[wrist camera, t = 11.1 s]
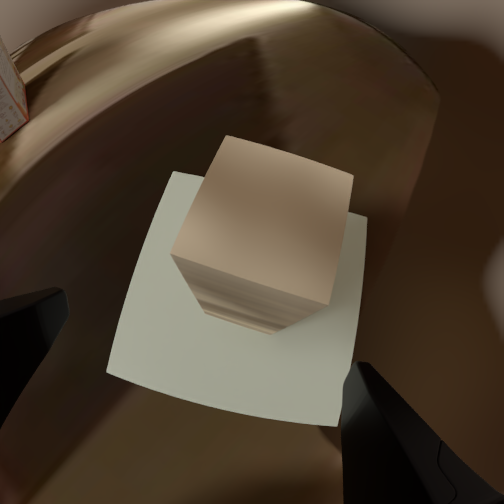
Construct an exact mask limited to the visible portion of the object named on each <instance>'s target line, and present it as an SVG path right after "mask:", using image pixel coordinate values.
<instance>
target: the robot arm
mask: <svg viewBox="0 0 504 504" xmlns="http://www.w3.org/2000/svg"><path fill="white" fill-rule="evenodd" d="M68 317H69V307H68V301H67V295H66V292H65V291H64V290H63V289H60V288H57V287H52V288H48V289H44V290H39V291H35V292H31V293H27V294H23V295H19V296H15V297H11V298H7V299H3V300H0V429H1V427H2V425H3V423H4V421H5V420H6V418H7V416H8V414H9V413H10V411H11V409H12V407H13V406H14V404H15V402H16V401H17V399H18V397H19V396H20V394H21V393H22V391H23V389H24V388H25V386H26V385H27V383H28V382H29V380H30V378H31V377H32V375H33V374H34V372H35V371H36V369H37V368H38V366H39V365H40V363H41V362H42V361H43V359H44V358H45V356H46V355H47V353H48V352H49V350H50V348H51V347H52V345H53V343H54V341H55V340H56V338H57V336H58V334H59V333H60V331H61V329H62V328H63V326H64V324H65V323H66V321H67V319H68ZM341 445H342V464H343V501H344V504H504V495H503V494H501V493H499V492H498V491H496V490H495V489H494V488H493V487H491V486H490V485H489V484H488V483H487V482H486V481H485V480H484V479H482V478H481V477H480V476H479V475H478V474H476V473H475V472H474V471H473V470H472V469H471V468H470V467H469V466H468V465H467V464H465V463H464V462H463V461H462V460H461V459H460V458H459V457H458V456H457V455H456V454H455V453H454V452H453V451H452V450H451V449H450V448H449V447H448V446H447V445H446V443H445V442H444V441H443V440H441V439H440V437H439V436H438V435H437V434H436V433H435V432H434V431H433V430H432V429H431V428H430V427H429V425H427V423H426V422H425V421H424V420H423V419H422V418H421V417H420V416H419V415H418V414H417V413H416V412H415V411H414V410H413V409H412V407H411V406H409V404H408V403H407V402H406V401H405V400H404V399H403V398H402V397H401V396H400V395H399V394H398V393H397V392H396V391H395V390H394V388H393V387H392V386H391V385H390V384H389V383H388V382H387V381H386V380H385V379H384V378H383V377H382V376H381V375H380V374H379V373H378V372H377V371H376V369H374V368H373V366H372V365H371V364H370V363H368V362H362V361H356V362H354V363H353V365H352V367H351V369H350V371H349V373H348V375H347V377H346V378H345V380H344V383H343V392H342V418H341Z"/></svg>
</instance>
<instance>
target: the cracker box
mask: <svg viewBox="0 0 504 504" xmlns="http://www.w3.org/2000/svg"><path fill="white" fill-rule="evenodd" d="M28 121H29V115H28V108H27V100H26V90H25V84H24V82H23V80H22V78H21V77H20V75H19V73H18V71H17V69H16V67H15V65H14V63H13V61H12V59H11V57H10V55H9V53H8V51H7V49H6V47H5V45H4V43H3V41H2V38H1V37H0V142H1V143H2V142H3V141H4V140H6V139H7V138H8V137H9V136H10V135H12V134H13V133H14V132H15V131H16V130H18V129H19V128H20V127H22V126H23V125H24V124H25V123H27V122H28Z"/></svg>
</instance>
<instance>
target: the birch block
mask: <svg viewBox="0 0 504 504" xmlns="http://www.w3.org/2000/svg"><path fill="white" fill-rule="evenodd" d="M353 176H354V175H351V174H348V173H346V172H343V171H340V170H338V169H335V168H332V167H329V166H327V165H324V164H321V163H318V162H315V161H312V160H309V159H306V158H303V157H300V156H297V155H294V154H291V153H288V152H284V151H281V150H278V149H274V148H271V147H268V146H264V145H261V144H257V143H254V142H250V141H246V140H243V139H239V138H235V137H231V136H227V135H226V137H225V139H224V141H223V142H222V144H221V146H220V148H219V150H218V152H217V154H216V156H215V158H214V160H213V162H212V164H211V166H210V168H209V170H208V172H207V174H206V176H205V178H204V180H203V182H202V184H201V186H200V188H199V190H198V192H197V194H196V196H195V198H194V201H193V203H192V205H191V207H190V209H189V211H188V213H187V216H186V218H185V220H184V222H183V224H182V227H181V229H180V231H179V233H178V236H177V238H176V240H175V242H174V245H173V247H172V249H171V252H170V255H171V257H172V258H173V260H174V262H175V264H176V265H177V267H178V269H179V271H180V272H181V274H182V276H183V278H184V279H185V281H186V283H187V284H188V286H189V288H190V289H191V291H192V293H193V294H194V296H195V298H196V299H197V301H198V303H199V304H200V306H201V308H202V309H203V311H204V313H205V314H208V315H210V316H213V317H216V318H219V319H222V320H225V321H228V322H231V323H234V324H237V325H240V326H243V327H246V328H249V329H252V330H256V331H259V332H262V333H265V334H268V335H271V334H274V333H276V332H278V331H280V330H282V329H284V328H286V327H288V326H290V325H292V324H294V323H296V322H298V321H300V320H302V319H304V318H306V317H308V316H309V315H311V314H313V313H315V312H317V311H319V310H321V309H323V308H325V307H326V306H328V305H329V302H330V297H331V293H332V289H333V285H334V280H335V276H336V271H337V266H338V262H339V257H340V252H341V247H342V242H343V237H344V231H345V226H346V220H347V214H348V209H349V202H350V196H351V190H352V183H353Z"/></svg>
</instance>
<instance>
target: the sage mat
mask: <svg viewBox="0 0 504 504" xmlns="http://www.w3.org/2000/svg"><path fill="white" fill-rule="evenodd" d="M204 178H205V177H201V176H196V175H190V174H185V173H180V172H174V171H173V173H172V175H171V178H170V180H169V182H168V185H167V187H166V189H165V192H164V194H163V196H162V199H161V201H160V204H159V206H158V209H157V211H156V214H155V216H154V219H153V221H152V224H151V226H150V229H149V232H148V234H147V237H146V240H145V242H144V245H143V248H142V251H141V254H140V256H139V259H138V262H137V265H136V268H135V271H134V274H133V277H132V280H131V283H130V286H129V290H128V293H127V296H126V299H125V303H124V306H123V309H122V313H121V316H120V320H119V324H118V327H117V331H116V335H115V338H114V342H113V346H112V350H111V354H110V359H109V363H108V367H107V373H110V374H112V375H115V376H117V377H120V378H122V379H125V380H127V381H130V382H133V383H135V384H138V385H141V386H144V387H147V388H149V389H152V390H155V391H158V392H161V393H165V394H168V395H171V396H174V397H178V398H181V399H184V400H188V401H191V402H195V403H199V404H203V405H206V406H210V407H214V408H219V409H223V410H227V411H232V412H237V413H241V414H246V415H252V416H257V417H263V418H268V419H275V420H281V421H288V422H296V423H304V424H314V425H325V426H337V425H338V421H339V417H340V412H341V408H342V392H343V383H344V380H345V378H346V377H347V375H348V373H349V371H350V366H351V360H352V355H353V350H354V343H355V338H356V331H357V325H358V317H359V310H360V302H361V294H362V284H363V274H364V263H365V250H366V234H367V217H364V216H361V215H357V214H354V213H350V212H348V214H347V220H346V226H345V231H344V237H343V242H342V247H341V252H340V257H339V262H338V266H337V271H336V276H335V280H334V285H333V289H332V293H331V297H330V302H329V305H328V306H326V307H325V308H323V309H321V310H319V311H317V312H315V313H313V314H311V315H309V316H308V317H306V318H304V319H302V320H300V321H298V322H296V323H294V324H292V325H290V326H288V327H286V328H284V329H282V330H280V331H278V332H276V333H274V334H271V335H268V334H265V333H262V332H259V331H256V330H252V329H249V328H246V327H243V326H240V325H237V324H234V323H231V322H228V321H225V320H222V319H219V318H216V317H213V316H210V315H208V314H205V313H204V311H203V309H202V308H201V306H200V304H199V303H198V301H197V299H196V298H195V296H194V294H193V293H192V291H191V289H190V288H189V286H188V284H187V283H186V281H185V279H184V278H183V276H182V274H181V272H180V271H179V269H178V267H177V265H176V264H175V262H174V260H173V258H172V257H171V255H170V252H171V249H172V247H173V245H174V242H175V240H176V238H177V236H178V233H179V231H180V229H181V227H182V224H183V222H184V220H185V218H186V216H187V213H188V211H189V209H190V207H191V205H192V203H193V201H194V198H195V196H196V194H197V192H198V190H199V188H200V186H201V184H202V182H203V180H204Z"/></svg>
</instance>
